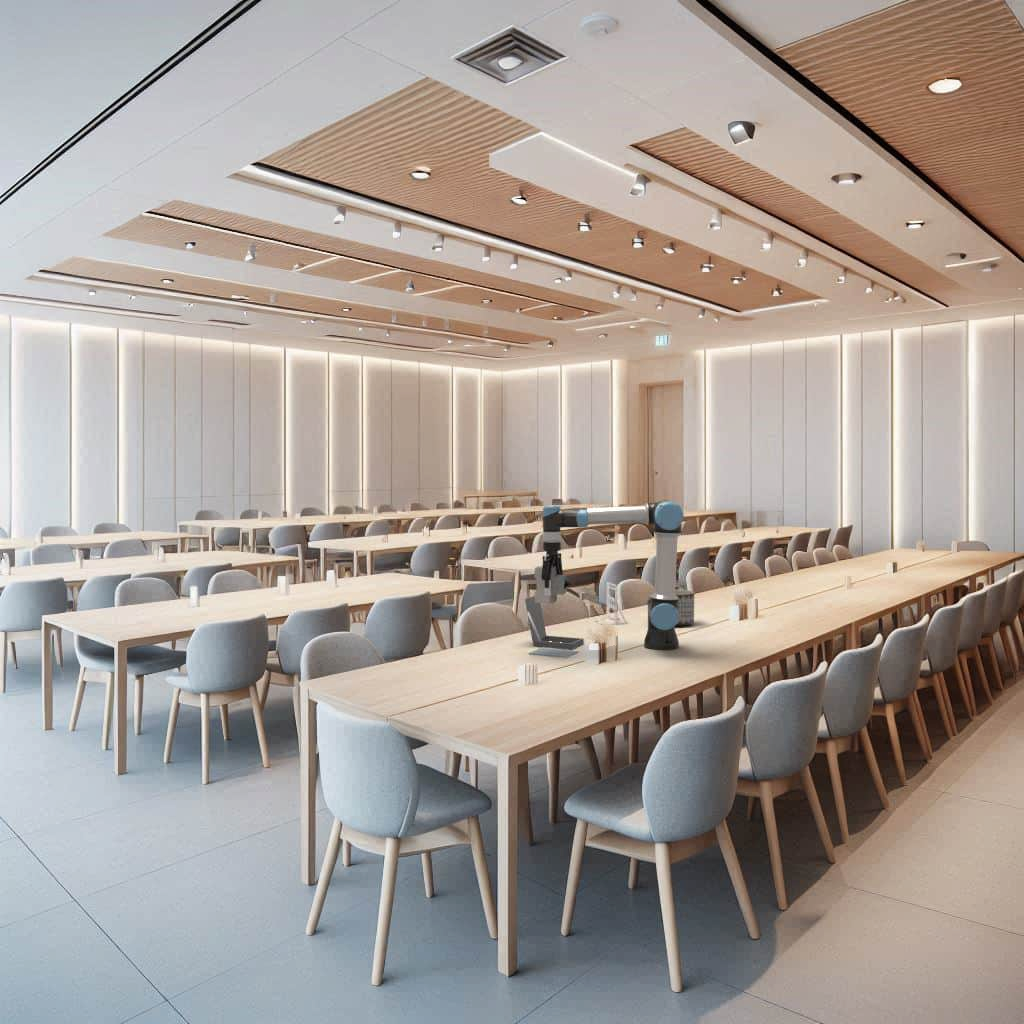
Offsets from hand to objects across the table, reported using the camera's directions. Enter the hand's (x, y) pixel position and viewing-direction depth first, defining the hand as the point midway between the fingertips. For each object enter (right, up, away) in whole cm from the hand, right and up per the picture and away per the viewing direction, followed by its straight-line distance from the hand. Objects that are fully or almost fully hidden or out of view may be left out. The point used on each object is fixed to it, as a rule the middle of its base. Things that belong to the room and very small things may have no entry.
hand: (552, 593), depth 366 cm
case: (+2, -25, +17) cm, 30 cm away
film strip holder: (+33, -22, +71) cm, 81 cm away
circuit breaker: (0, -4, 0) cm, 4 cm away
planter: (+64, -22, +62) cm, 92 cm away
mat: (0, -25, 0) cm, 25 cm away
